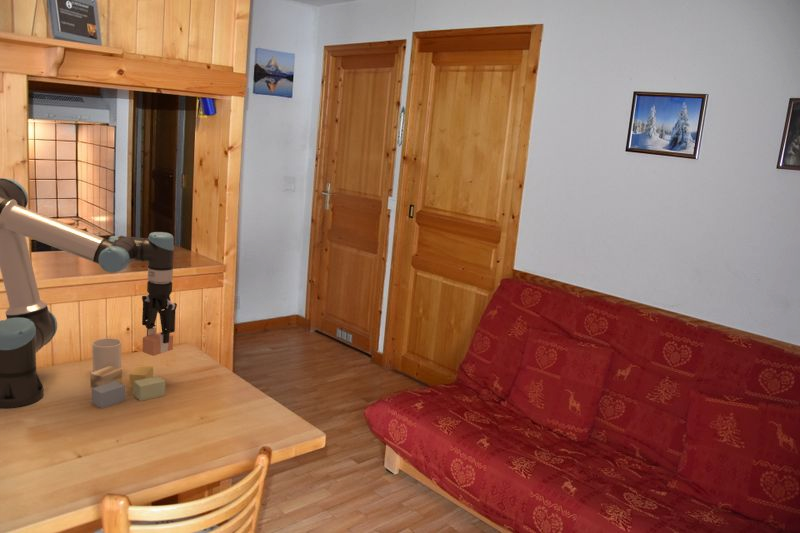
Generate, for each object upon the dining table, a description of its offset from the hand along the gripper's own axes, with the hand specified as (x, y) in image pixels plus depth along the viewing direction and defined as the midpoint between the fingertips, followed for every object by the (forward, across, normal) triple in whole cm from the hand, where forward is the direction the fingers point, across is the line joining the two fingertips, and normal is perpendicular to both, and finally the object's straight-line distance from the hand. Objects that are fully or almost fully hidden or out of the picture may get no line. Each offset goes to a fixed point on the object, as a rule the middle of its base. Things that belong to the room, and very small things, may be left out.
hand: (157, 349), depth 214 cm
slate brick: (+12, 0, -18) cm, 22 cm away
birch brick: (+12, -10, -11) cm, 20 cm away
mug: (+13, -19, -4) cm, 23 cm away
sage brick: (+12, +6, -8) cm, 15 cm away
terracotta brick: (0, 0, 0) cm, 0 cm away
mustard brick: (+12, -3, -3) cm, 13 cm away
